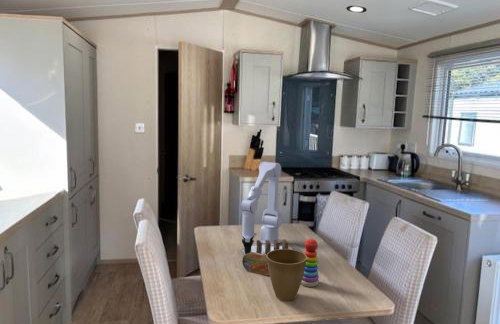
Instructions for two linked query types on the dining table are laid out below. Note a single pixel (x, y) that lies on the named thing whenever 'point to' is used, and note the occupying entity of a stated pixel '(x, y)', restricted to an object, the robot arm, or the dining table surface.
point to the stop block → (296, 248)
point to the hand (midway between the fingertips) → (247, 251)
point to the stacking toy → (310, 264)
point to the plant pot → (286, 272)
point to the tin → (256, 263)
